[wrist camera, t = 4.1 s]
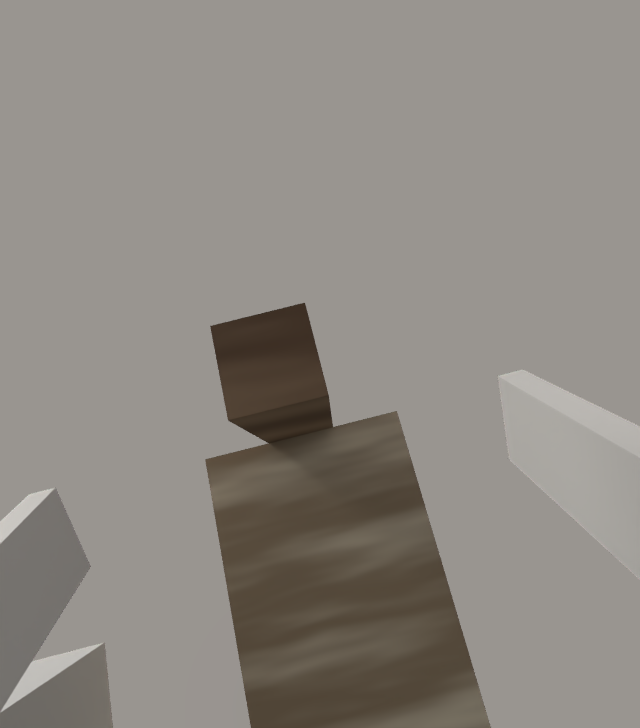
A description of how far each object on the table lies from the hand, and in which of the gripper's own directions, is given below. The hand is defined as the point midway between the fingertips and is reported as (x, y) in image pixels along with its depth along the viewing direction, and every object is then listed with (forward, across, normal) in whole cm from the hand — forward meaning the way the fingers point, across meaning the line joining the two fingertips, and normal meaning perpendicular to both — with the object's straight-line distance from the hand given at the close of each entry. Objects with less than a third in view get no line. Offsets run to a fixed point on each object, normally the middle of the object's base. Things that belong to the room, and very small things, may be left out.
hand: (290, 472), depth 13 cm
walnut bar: (+16, 0, -6) cm, 17 cm away
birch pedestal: (+3, 0, -34) cm, 34 cm away
